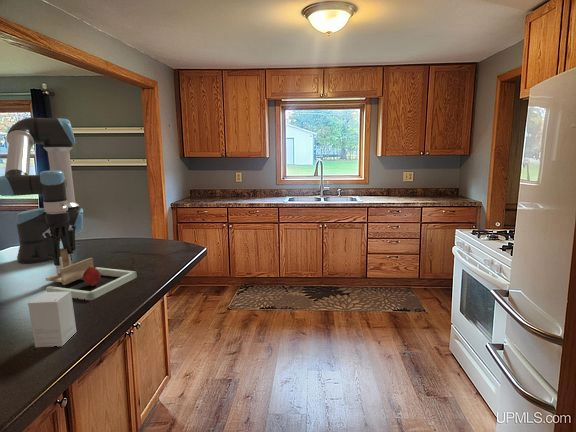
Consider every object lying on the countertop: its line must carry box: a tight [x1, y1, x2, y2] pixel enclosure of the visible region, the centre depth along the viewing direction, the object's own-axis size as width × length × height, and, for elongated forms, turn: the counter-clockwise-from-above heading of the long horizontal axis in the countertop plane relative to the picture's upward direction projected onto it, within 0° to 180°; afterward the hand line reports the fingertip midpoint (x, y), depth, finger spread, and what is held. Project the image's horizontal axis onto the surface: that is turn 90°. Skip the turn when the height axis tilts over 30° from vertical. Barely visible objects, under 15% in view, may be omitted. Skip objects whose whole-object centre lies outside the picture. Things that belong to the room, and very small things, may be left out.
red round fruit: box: [82, 266, 102, 287], centre depth 136 cm, size 6×6×8 cm
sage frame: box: [46, 266, 138, 301], centre depth 137 cm, size 20×23×2 cm
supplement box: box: [27, 291, 78, 348], centre depth 97 cm, size 7×7×13 cm
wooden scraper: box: [45, 247, 95, 286], centre depth 140 cm, size 11×14×11 cm
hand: (64, 271), depth 141 cm, fingers closed on wooden scraper, 3 cm apart
